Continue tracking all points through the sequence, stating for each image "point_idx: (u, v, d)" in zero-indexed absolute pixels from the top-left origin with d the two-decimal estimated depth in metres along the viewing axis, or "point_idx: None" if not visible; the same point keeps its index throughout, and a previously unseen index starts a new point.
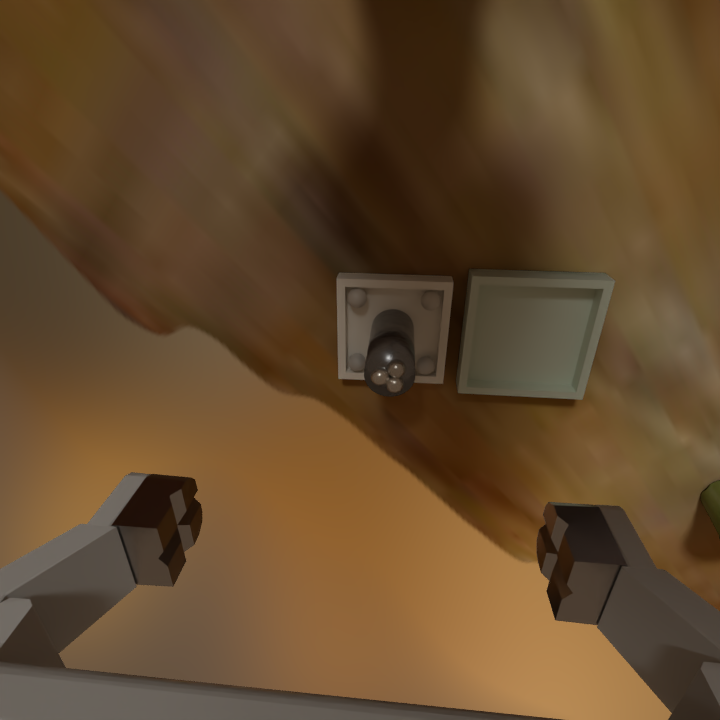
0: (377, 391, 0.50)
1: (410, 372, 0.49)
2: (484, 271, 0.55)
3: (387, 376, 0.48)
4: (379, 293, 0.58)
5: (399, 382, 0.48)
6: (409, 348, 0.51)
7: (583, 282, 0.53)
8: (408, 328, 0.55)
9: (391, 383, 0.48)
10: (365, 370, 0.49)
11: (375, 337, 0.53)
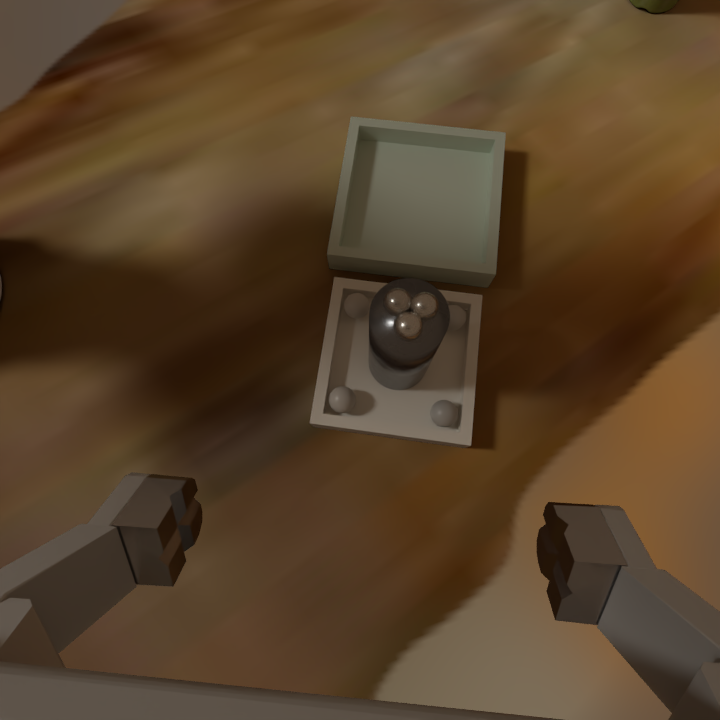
0: (440, 336, 0.31)
1: (407, 284, 0.32)
2: None
3: (406, 312, 0.30)
4: (344, 373, 0.43)
5: (417, 294, 0.31)
6: None
7: (349, 143, 0.47)
8: None
9: (417, 306, 0.30)
10: (399, 350, 0.31)
11: (374, 355, 0.36)
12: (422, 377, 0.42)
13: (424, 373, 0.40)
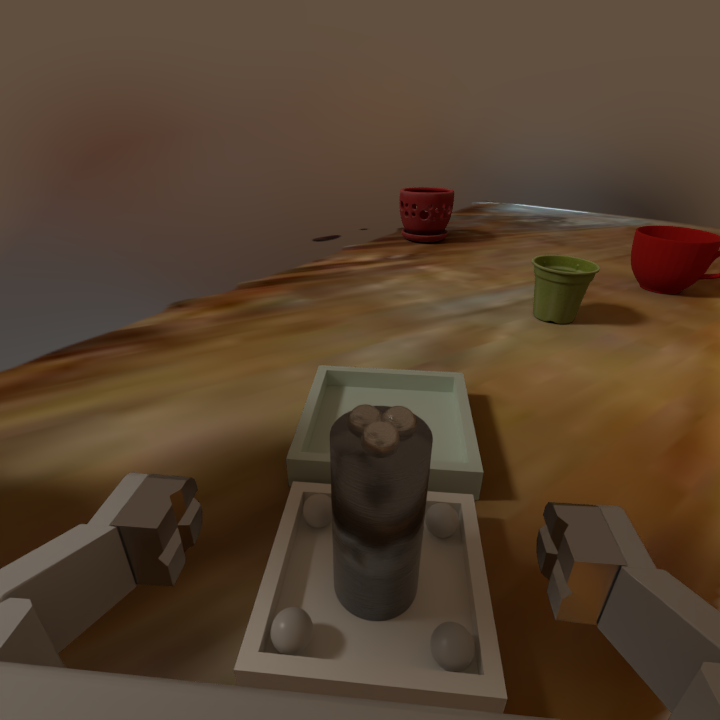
0: (422, 452, 0.23)
1: None
2: None
3: None
4: (298, 599, 0.29)
5: (389, 408, 0.25)
6: None
7: (316, 380, 0.49)
8: None
9: (390, 415, 0.24)
10: (370, 466, 0.22)
11: (339, 522, 0.26)
12: (412, 596, 0.29)
13: (413, 580, 0.28)
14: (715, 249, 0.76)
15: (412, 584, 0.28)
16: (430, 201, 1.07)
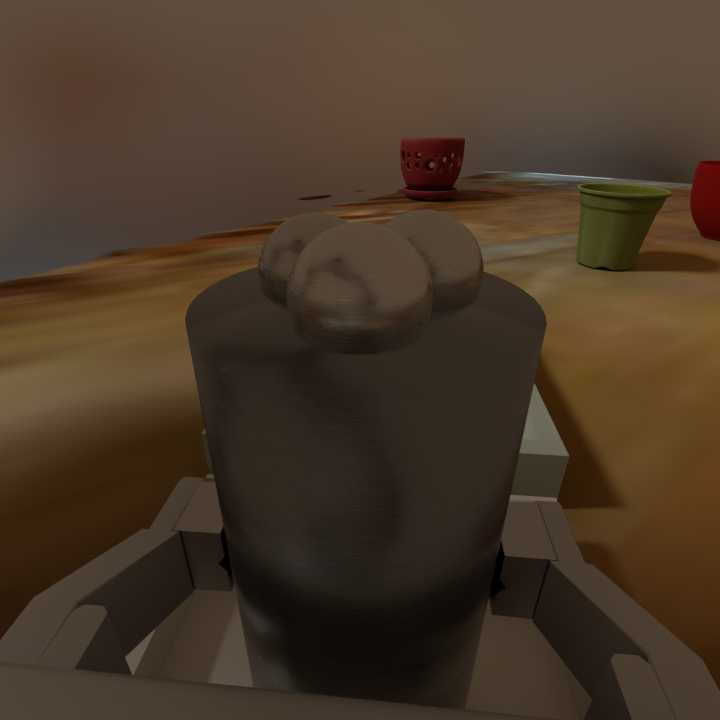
0: (521, 338, 0.06)
1: None
2: None
3: None
4: None
5: None
6: None
7: None
8: None
9: (395, 227, 0.07)
10: (314, 379, 0.05)
11: (239, 586, 0.08)
12: None
13: None
14: None
15: None
16: (437, 148, 0.90)
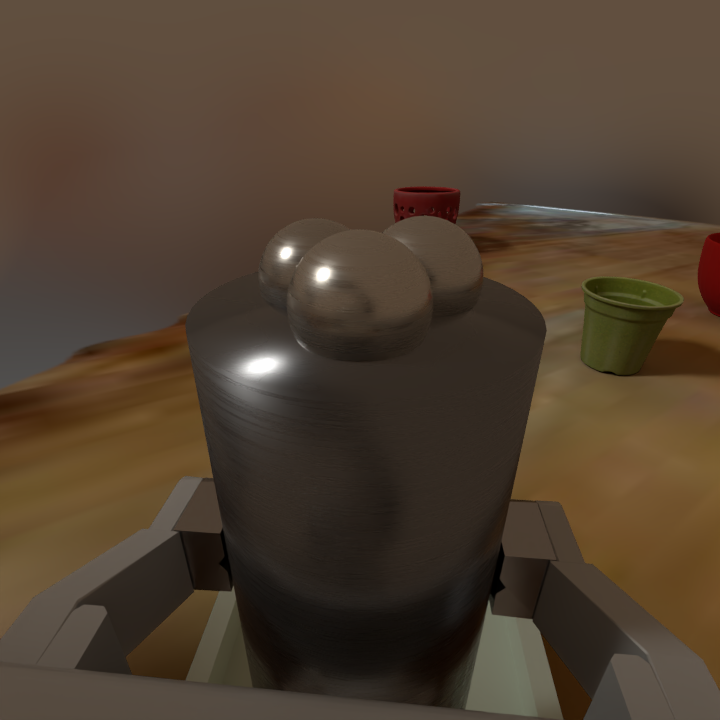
0: (521, 346, 0.06)
1: None
2: None
3: None
4: None
5: None
6: None
7: None
8: None
9: (395, 234, 0.07)
10: (315, 388, 0.05)
11: (239, 591, 0.08)
12: None
13: None
14: None
15: None
16: (431, 203, 0.86)
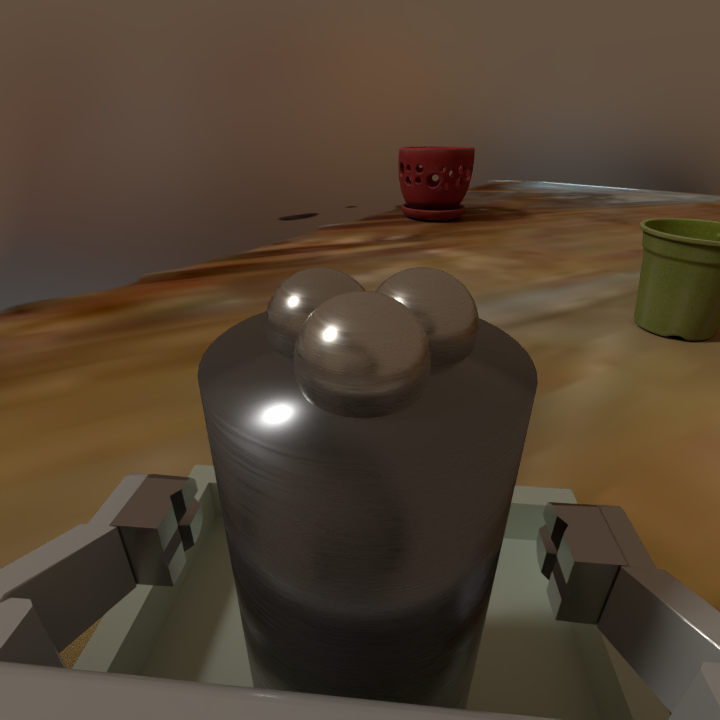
0: (513, 400, 0.07)
1: None
2: None
3: None
4: None
5: None
6: None
7: None
8: None
9: (395, 287, 0.08)
10: (321, 447, 0.06)
11: (246, 619, 0.09)
12: None
13: None
14: None
15: None
16: (442, 160, 0.75)
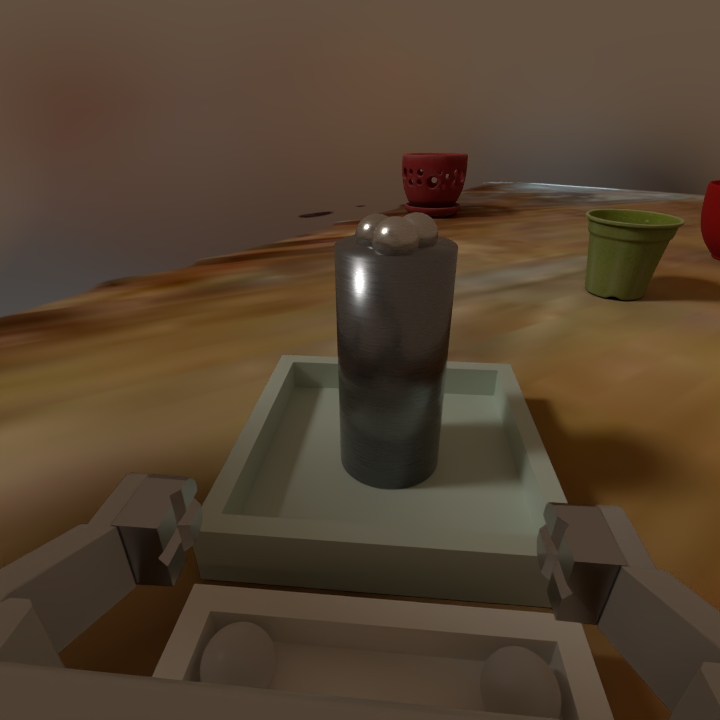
0: (447, 253, 0.19)
1: None
2: None
3: None
4: None
5: None
6: None
7: (274, 378, 0.30)
8: None
9: (406, 218, 0.20)
10: (385, 260, 0.18)
11: (347, 356, 0.22)
12: (432, 463, 0.24)
13: (434, 440, 0.24)
14: None
15: (433, 445, 0.24)
16: (439, 165, 0.88)
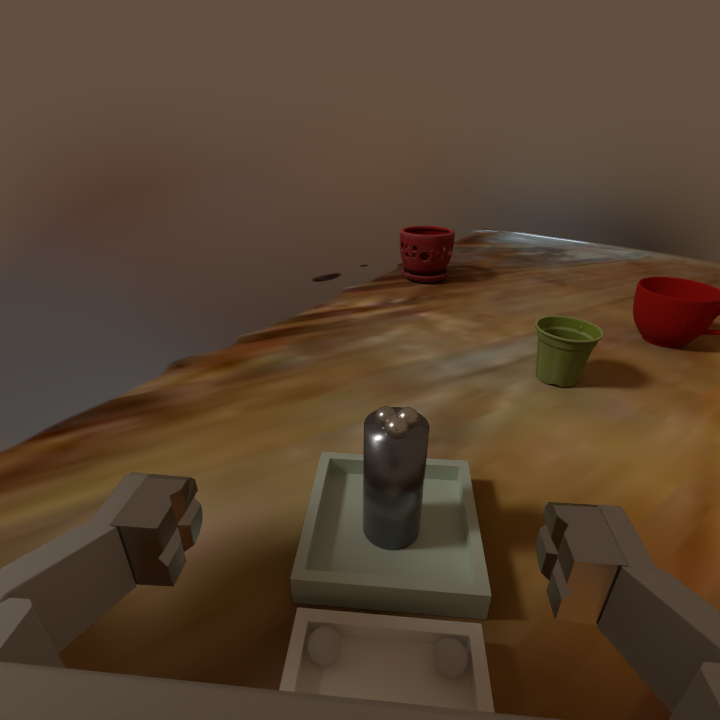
0: (423, 435, 0.38)
1: None
2: None
3: None
4: None
5: (401, 408, 0.39)
6: None
7: (319, 472, 0.48)
8: None
9: (402, 413, 0.39)
10: (391, 444, 0.37)
11: (369, 482, 0.40)
12: (416, 534, 0.43)
13: (417, 522, 0.42)
14: (718, 307, 0.76)
15: (416, 525, 0.42)
16: (430, 243, 1.06)
